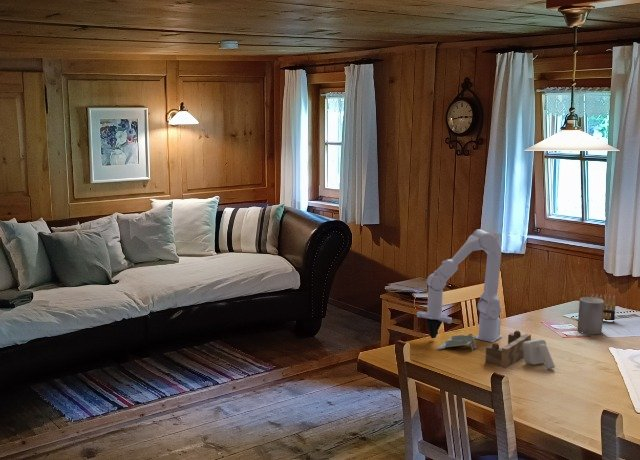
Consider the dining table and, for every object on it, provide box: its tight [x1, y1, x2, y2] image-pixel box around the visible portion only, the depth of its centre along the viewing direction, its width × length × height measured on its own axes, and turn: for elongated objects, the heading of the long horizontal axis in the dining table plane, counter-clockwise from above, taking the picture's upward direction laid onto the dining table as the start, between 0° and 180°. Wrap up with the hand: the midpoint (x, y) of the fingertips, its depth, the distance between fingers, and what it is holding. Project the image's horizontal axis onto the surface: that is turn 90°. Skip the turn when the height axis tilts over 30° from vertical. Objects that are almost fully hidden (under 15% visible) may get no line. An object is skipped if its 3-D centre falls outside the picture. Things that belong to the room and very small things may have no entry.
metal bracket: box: [436, 333, 477, 352], centre depth 293 cm, size 14×6×15 cm
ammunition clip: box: [590, 293, 616, 320], centre depth 332 cm, size 11×2×12 cm, turn 72°
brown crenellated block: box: [484, 329, 532, 369], centre depth 281 cm, size 23×8×8 cm, turn 143°
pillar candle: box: [577, 296, 604, 335], centre depth 315 cm, size 10×10×15 cm
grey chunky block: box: [523, 339, 556, 370], centre depth 272 cm, size 8×10×10 cm
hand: (433, 337), depth 299 cm, fingers closed
